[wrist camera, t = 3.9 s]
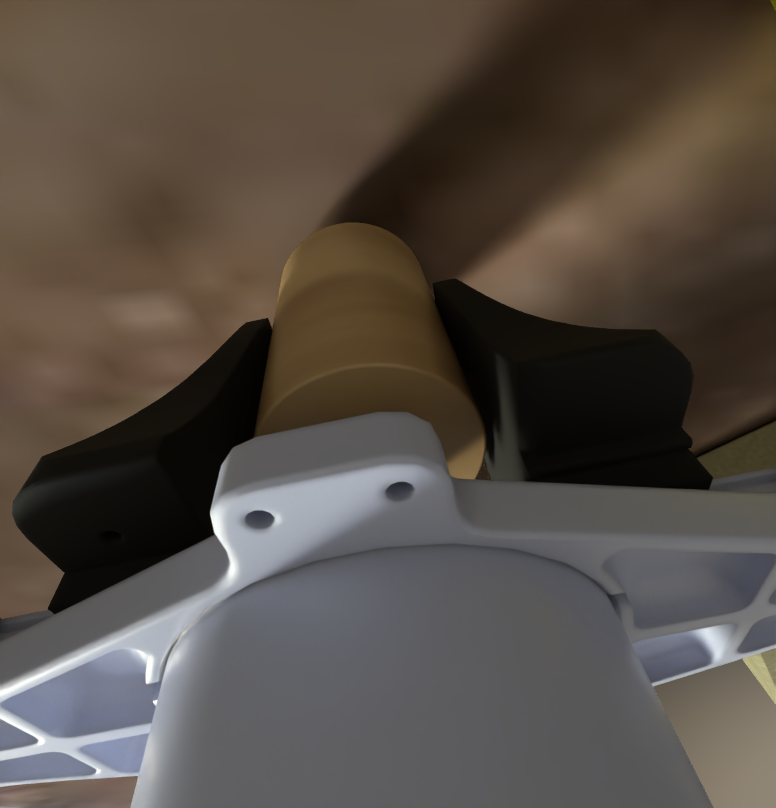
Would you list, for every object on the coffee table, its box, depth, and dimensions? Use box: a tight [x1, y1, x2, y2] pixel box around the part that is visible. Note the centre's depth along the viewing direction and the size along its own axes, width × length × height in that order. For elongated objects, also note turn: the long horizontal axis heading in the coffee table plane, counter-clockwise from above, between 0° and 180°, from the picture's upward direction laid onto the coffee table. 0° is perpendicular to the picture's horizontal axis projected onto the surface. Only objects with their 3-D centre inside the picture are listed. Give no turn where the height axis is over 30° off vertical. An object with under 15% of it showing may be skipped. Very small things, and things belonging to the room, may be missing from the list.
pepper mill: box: [253, 223, 486, 479], centre depth 12 cm, size 5×5×9 cm
